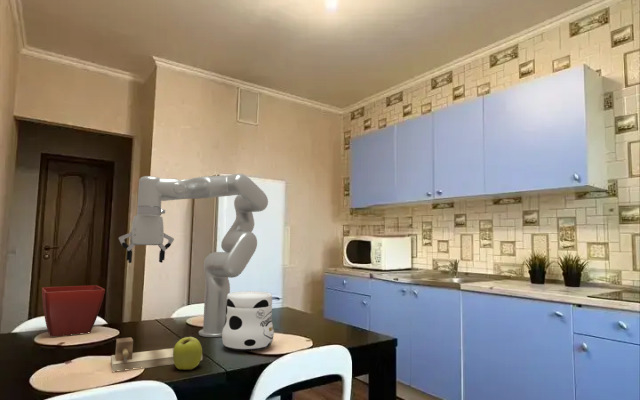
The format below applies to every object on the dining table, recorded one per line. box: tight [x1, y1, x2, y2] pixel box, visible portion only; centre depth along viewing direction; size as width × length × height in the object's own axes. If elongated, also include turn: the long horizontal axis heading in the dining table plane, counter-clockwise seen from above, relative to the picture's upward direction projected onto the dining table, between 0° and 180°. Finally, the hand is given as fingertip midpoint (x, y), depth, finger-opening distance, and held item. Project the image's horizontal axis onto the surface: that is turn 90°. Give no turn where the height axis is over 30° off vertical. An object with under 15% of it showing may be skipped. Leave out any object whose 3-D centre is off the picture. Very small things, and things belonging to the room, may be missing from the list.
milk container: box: [221, 290, 275, 352], centre depth 133 cm, size 17×17×18 cm
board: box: [110, 347, 204, 371], centre depth 115 cm, size 24×10×2 cm, turn 121°
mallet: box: [114, 337, 134, 361], centre depth 110 cm, size 4×10×5 cm, turn 31°
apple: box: [173, 332, 203, 371], centre depth 110 cm, size 8×8×10 cm
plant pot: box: [41, 284, 106, 337], centre depth 150 cm, size 19×19×17 cm
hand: (145, 262), depth 131 cm, fingers open, 9 cm apart
